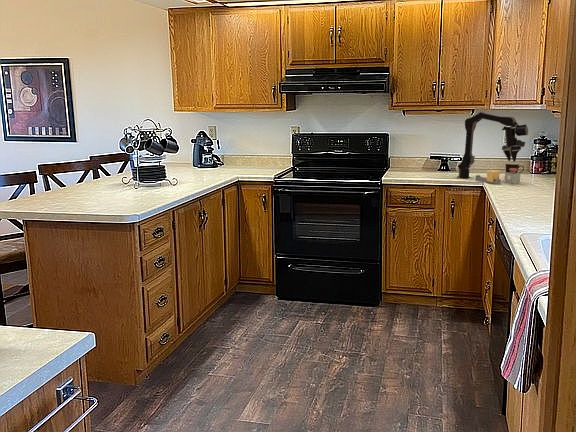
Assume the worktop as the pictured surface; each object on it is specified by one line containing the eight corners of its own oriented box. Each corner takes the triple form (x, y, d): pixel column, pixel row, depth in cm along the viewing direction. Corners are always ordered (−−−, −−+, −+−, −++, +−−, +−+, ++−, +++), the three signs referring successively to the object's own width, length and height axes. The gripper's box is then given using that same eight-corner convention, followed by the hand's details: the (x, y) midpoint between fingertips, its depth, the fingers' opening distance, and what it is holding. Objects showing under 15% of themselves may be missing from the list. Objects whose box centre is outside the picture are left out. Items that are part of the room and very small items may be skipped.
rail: (475, 180, 388) (475, 175, 388) (478, 179, 390) (479, 175, 389) (496, 184, 372) (497, 179, 371) (500, 184, 373) (500, 179, 372)
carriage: (486, 180, 378) (487, 170, 376) (493, 180, 380) (493, 170, 379) (492, 182, 373) (493, 171, 372) (498, 181, 376) (499, 171, 374)
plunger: (507, 177, 381) (508, 168, 380) (512, 177, 383) (513, 168, 382) (512, 178, 377) (513, 169, 376) (517, 178, 379) (518, 168, 378)
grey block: (504, 182, 382) (504, 172, 381) (511, 181, 385) (512, 172, 384) (512, 183, 376) (513, 174, 375) (519, 183, 379) (520, 173, 378)
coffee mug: (503, 178, 396) (504, 163, 394) (505, 177, 404) (506, 162, 401) (521, 180, 391) (523, 165, 389) (523, 178, 398) (524, 163, 396)
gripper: (528, 135, 366) (530, 160, 368) (518, 135, 384) (519, 159, 386) (510, 137, 366) (512, 162, 368) (500, 137, 385) (502, 161, 387)
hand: (511, 161), depth 377 cm, fingers open, 9 cm apart
